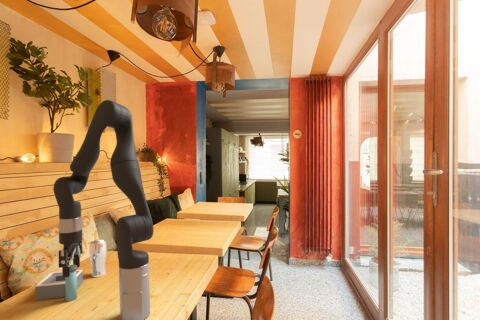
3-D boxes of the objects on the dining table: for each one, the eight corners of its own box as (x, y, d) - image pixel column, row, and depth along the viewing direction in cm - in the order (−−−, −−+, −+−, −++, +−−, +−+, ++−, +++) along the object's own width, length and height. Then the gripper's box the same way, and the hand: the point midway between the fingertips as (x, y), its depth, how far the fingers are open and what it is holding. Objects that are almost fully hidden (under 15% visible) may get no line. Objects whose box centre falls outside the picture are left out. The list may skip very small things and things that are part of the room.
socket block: (70, 296, 102) (70, 282, 102) (35, 300, 100) (35, 285, 100) (83, 282, 114) (82, 269, 114) (51, 285, 112) (51, 272, 112)
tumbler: (103, 270, 127) (102, 238, 127) (110, 273, 122) (109, 240, 122) (87, 275, 121) (86, 242, 121) (93, 279, 117) (93, 245, 117)
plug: (75, 301, 99) (74, 268, 99) (62, 302, 98) (61, 269, 98) (79, 295, 103) (78, 264, 103) (67, 296, 102) (66, 265, 102)
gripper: (73, 234, 94) (74, 279, 95) (88, 223, 109) (89, 263, 109) (49, 235, 93) (50, 281, 94) (68, 224, 107) (69, 265, 108)
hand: (71, 271), depth 101 cm, fingers open, 8 cm apart
